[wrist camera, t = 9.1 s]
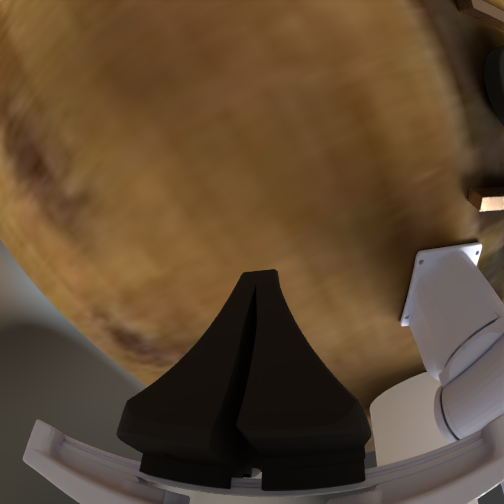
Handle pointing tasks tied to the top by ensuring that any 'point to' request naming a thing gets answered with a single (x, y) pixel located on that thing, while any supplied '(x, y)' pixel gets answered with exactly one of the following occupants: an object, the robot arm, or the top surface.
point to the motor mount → (475, 6)
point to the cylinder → (406, 420)
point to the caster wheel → (495, 80)
